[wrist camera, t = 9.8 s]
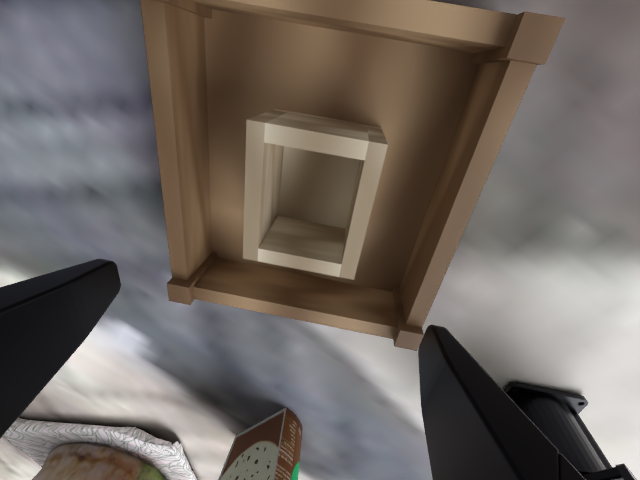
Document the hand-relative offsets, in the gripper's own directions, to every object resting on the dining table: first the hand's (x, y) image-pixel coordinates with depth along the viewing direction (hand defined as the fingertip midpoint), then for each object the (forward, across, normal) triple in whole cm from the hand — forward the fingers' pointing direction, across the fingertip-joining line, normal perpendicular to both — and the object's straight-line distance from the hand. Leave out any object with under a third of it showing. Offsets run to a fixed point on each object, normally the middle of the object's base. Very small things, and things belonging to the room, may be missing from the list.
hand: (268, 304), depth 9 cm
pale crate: (+12, 0, 0) cm, 12 cm away
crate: (+12, 0, 0) cm, 12 cm away
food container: (+13, 0, +31) cm, 33 cm away
